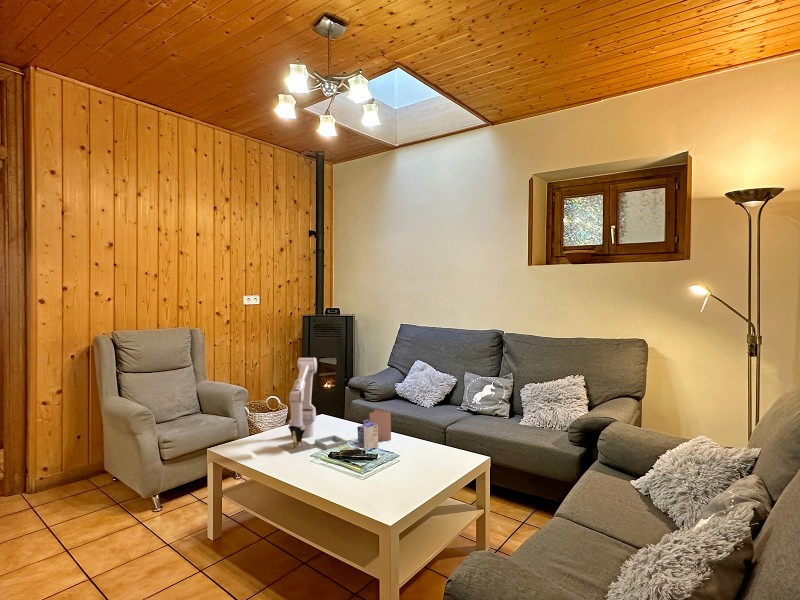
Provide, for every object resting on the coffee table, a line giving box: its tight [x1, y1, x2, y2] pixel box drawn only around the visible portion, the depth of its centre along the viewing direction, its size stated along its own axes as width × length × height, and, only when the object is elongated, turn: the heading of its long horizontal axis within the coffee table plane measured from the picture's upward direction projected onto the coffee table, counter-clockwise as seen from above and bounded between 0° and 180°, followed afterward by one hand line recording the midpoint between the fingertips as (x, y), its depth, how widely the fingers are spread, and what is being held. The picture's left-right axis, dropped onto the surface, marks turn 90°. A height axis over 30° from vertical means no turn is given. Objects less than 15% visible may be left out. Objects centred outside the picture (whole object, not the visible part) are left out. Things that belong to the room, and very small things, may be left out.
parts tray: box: [314, 435, 348, 451], centre depth 235 cm, size 12×12×4 cm
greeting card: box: [368, 409, 392, 441], centre depth 246 cm, size 11×7×15 cm, turn 54°
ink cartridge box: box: [357, 419, 379, 449], centre depth 231 cm, size 10×6×14 cm, turn 136°
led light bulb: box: [292, 431, 301, 448], centre depth 232 cm, size 4×4×8 cm
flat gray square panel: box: [277, 439, 318, 455], centre depth 232 cm, size 16×14×4 cm
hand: (297, 440), depth 232 cm, fingers open, 4 cm apart
